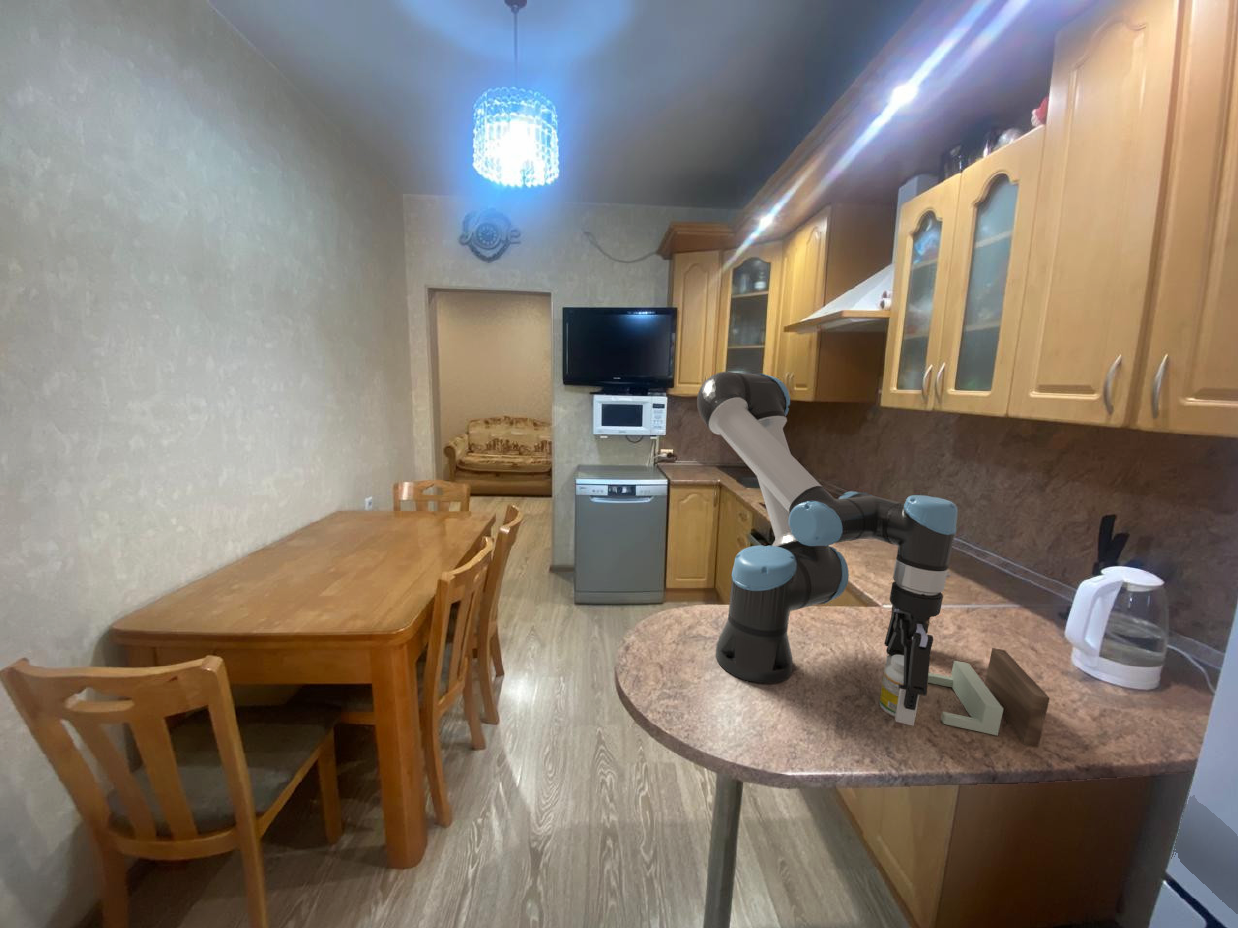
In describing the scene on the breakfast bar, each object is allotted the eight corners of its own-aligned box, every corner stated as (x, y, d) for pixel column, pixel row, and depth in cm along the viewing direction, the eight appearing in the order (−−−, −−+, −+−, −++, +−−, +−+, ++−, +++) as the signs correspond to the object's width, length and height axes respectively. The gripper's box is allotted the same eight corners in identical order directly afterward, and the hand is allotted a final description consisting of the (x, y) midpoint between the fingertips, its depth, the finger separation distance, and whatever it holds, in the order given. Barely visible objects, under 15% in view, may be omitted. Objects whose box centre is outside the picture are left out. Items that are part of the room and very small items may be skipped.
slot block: (943, 723, 83) (948, 697, 82) (918, 677, 96) (922, 654, 95) (997, 735, 80) (1003, 708, 80) (964, 686, 94) (968, 663, 93)
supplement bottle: (891, 720, 83) (900, 669, 81) (872, 699, 88) (880, 652, 87) (920, 719, 84) (929, 669, 82) (899, 699, 89) (908, 652, 87)
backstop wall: (1023, 743, 79) (1034, 694, 78) (983, 690, 93) (992, 647, 92) (1038, 747, 78) (1049, 697, 77) (995, 692, 93) (1004, 649, 91)
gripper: (968, 619, 71) (942, 753, 75) (922, 567, 91) (903, 675, 95) (911, 609, 73) (888, 741, 77) (878, 561, 93) (861, 667, 97)
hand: (896, 704), depth 86 cm, fingers open, 9 cm apart
